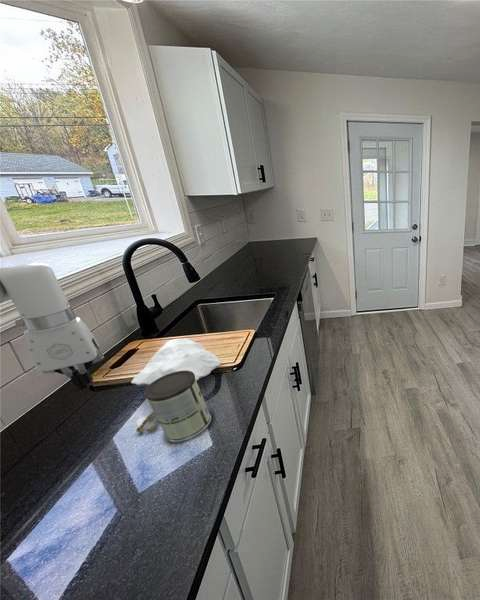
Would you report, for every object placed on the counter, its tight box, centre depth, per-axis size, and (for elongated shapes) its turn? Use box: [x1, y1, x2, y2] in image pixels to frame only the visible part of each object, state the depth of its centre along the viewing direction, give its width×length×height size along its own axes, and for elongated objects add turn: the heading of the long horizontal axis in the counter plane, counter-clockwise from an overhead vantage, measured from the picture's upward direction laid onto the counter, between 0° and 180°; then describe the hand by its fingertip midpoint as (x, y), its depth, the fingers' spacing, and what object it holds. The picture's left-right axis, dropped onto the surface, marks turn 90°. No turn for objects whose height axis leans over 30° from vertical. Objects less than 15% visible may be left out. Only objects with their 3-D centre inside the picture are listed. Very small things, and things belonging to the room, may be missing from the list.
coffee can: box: [143, 371, 212, 443], centre depth 79 cm, size 10×10×14 cm
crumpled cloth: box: [130, 338, 222, 386], centre depth 102 cm, size 24×35×9 cm
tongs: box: [135, 410, 159, 434], centre depth 86 cm, size 4×13×2 cm, turn 14°
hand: (85, 385), depth 77 cm, fingers closed
